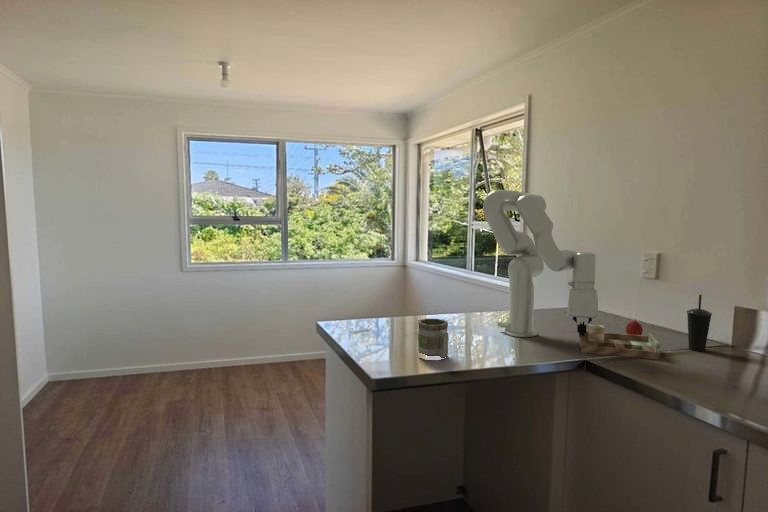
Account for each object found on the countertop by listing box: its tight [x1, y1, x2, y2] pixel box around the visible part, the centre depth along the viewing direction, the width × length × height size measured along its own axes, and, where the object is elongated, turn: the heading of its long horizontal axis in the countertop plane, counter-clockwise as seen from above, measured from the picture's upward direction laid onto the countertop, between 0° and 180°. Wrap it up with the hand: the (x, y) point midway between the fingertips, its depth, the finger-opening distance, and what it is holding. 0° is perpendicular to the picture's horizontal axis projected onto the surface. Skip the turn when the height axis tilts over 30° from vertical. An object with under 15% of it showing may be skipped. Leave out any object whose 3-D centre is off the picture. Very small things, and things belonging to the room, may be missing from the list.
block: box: [587, 323, 606, 342], centre depth 172 cm, size 5×5×5 cm
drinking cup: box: [686, 294, 713, 353], centre depth 167 cm, size 8×8×20 cm
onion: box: [625, 318, 644, 335], centre depth 182 cm, size 6×6×8 cm
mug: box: [417, 318, 450, 358], centre depth 159 cm, size 16×11×12 cm
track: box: [578, 330, 661, 360], centre depth 167 cm, size 24×14×6 cm, turn 71°
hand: (581, 334), depth 174 cm, fingers closed
